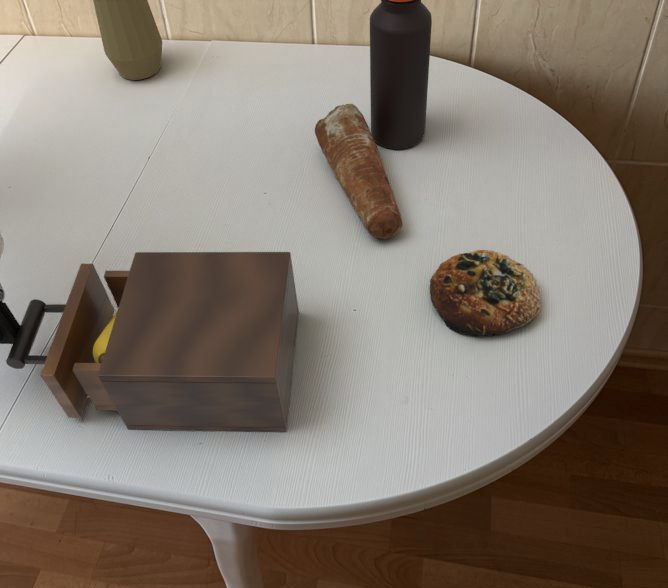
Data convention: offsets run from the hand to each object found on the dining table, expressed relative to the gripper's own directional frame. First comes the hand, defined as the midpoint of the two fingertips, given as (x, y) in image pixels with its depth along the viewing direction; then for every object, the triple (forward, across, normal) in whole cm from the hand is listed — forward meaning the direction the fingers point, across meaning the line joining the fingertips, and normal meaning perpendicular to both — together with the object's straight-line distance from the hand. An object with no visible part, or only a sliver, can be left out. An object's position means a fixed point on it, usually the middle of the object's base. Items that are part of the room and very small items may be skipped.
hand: (3, 336), depth 65 cm
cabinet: (+5, 0, +19) cm, 20 cm away
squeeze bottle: (+5, -52, 0) cm, 52 cm away
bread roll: (+5, -9, +45) cm, 46 cm away
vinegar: (+5, -37, +36) cm, 52 cm away
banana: (+2, 0, +12) cm, 12 cm away
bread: (+5, -26, +33) cm, 42 cm away
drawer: (+4, 0, +11) cm, 12 cm away
